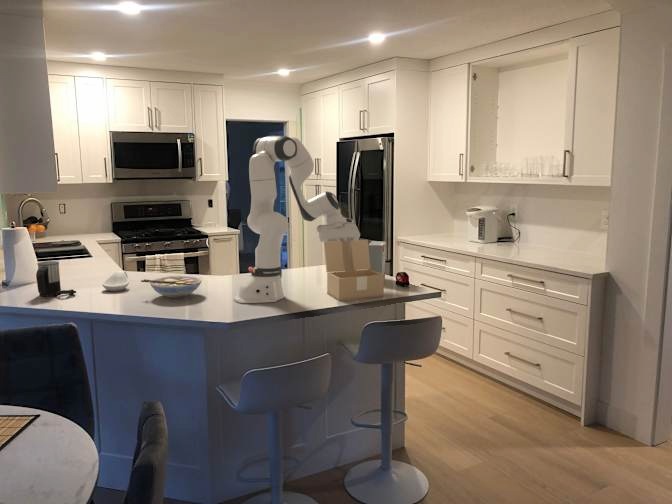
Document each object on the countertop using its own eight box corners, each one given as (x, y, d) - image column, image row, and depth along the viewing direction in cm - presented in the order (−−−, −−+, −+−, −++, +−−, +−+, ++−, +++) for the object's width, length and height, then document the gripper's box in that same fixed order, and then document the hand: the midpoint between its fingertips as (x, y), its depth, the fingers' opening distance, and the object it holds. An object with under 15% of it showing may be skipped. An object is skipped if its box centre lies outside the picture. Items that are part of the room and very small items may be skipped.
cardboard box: (338, 301, 241) (339, 278, 240) (327, 293, 254) (327, 272, 252) (383, 296, 249) (384, 275, 248) (370, 289, 262) (370, 269, 261)
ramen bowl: (214, 292, 256) (213, 275, 254) (187, 304, 234) (186, 286, 233) (167, 288, 263) (166, 272, 261) (137, 300, 241) (136, 282, 240)
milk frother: (40, 292, 254) (38, 261, 251) (78, 290, 259) (76, 259, 257) (36, 300, 240) (33, 267, 238) (75, 297, 246) (73, 264, 243)
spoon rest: (126, 292, 255) (126, 277, 254) (100, 293, 253) (99, 278, 252) (135, 281, 278) (134, 267, 277) (110, 282, 276) (109, 268, 275)
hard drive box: (381, 285, 272) (382, 245, 269) (366, 284, 274) (367, 245, 271) (385, 278, 287) (386, 241, 284) (370, 278, 289) (371, 240, 286)
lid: (324, 242, 253) (323, 242, 254) (327, 272, 252) (326, 272, 253) (367, 239, 261) (366, 239, 262) (370, 268, 261) (369, 269, 262)
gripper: (317, 221, 262) (324, 244, 255) (356, 219, 270) (364, 242, 262) (314, 229, 267) (321, 252, 259) (352, 227, 274) (360, 249, 267)
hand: (343, 247), depth 261 cm, fingers closed
